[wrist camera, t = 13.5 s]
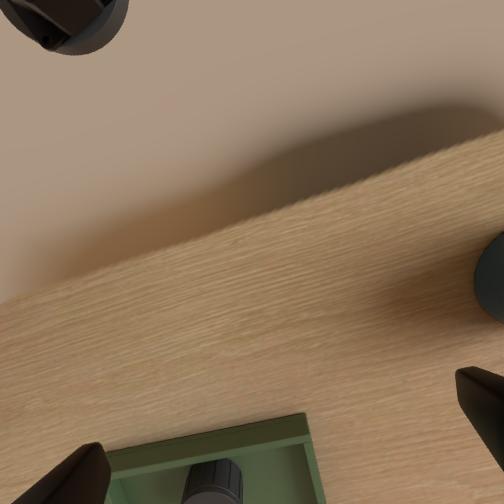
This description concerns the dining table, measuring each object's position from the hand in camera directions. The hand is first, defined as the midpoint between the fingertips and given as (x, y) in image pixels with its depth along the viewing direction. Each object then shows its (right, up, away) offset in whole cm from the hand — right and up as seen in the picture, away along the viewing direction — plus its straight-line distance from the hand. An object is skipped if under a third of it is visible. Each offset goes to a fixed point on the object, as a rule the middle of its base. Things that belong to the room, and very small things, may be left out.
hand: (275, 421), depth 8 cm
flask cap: (-3, -13, +13) cm, 19 cm away
